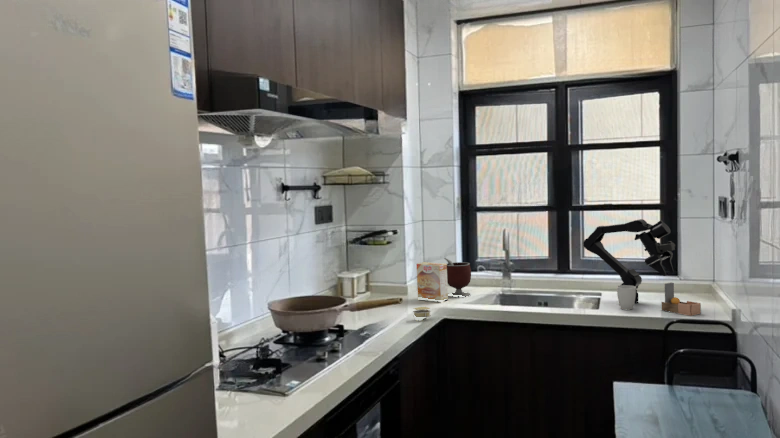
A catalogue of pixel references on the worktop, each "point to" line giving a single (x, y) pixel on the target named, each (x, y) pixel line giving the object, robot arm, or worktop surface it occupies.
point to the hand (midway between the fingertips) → (669, 274)
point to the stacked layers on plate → (422, 312)
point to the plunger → (669, 292)
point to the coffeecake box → (432, 280)
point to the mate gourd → (458, 276)
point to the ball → (675, 300)
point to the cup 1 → (626, 296)
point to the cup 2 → (689, 308)
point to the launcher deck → (671, 307)
